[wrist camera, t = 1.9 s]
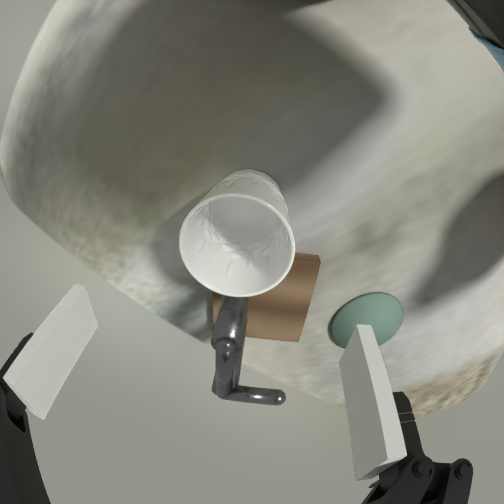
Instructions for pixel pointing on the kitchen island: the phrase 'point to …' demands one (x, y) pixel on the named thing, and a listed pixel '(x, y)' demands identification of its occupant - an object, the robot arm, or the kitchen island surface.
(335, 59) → the kitchen island surface
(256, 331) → the brown wooden board
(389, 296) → the end coaster
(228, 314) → the bent wire
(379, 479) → the robot arm
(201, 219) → the white cup
